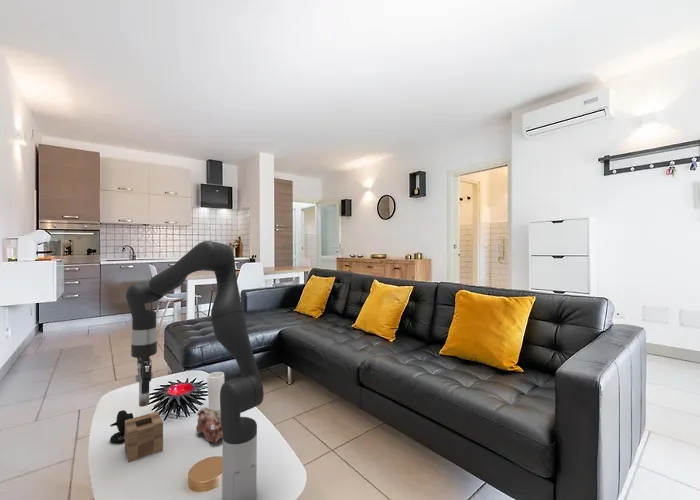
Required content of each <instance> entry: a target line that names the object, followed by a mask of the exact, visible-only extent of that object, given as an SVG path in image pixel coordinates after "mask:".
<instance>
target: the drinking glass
mask: <svg viewBox="0 0 700 500" xmlns="http://www.w3.org/2000/svg"><path fill="white" fill-rule="evenodd" d="M206 379H207V380H206V381H207V382H206V384H207V385H206V387H207V396H208V398H207V399H208V408H209V409H212V410H217V411H219V412H220V411H221V410H220V390H221V387H222V385H223V383H225V373H224V372H222V371H214V372H210V373H209V374H207V378H206Z"/></svg>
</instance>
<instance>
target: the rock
mask: <svg viewBox="0 0 700 500" xmlns="http://www.w3.org/2000/svg"><path fill="white" fill-rule="evenodd" d="M197 416H198V418H197V425H196V426H195V427H196V428H195V429H196V433H203V436H204V438H205V440H206V441H207V442H211V443H217V442H218V441H219V440H220V439H221V438H223V433H222V427H221V411H220V410H219V411H217V410H212V409H209V407H202V408H200V409H199V410H198V412H197Z"/></svg>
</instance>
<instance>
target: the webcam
mask: <svg viewBox="0 0 700 500" xmlns="http://www.w3.org/2000/svg"><path fill="white" fill-rule="evenodd" d="M132 418H134V414H133V412H132V413H131V412H130V413H129V412H128V413H127V411H126V410H119V411H118V412H117V414H116V420H115V422H113V423H110V427H115V426H116V429H117V430H118V432H116V433H113V435H111V436H110V438H109V441H110V443H111V444H113V445H119V444H120V445H121V444H125V420H128V419H132ZM122 437H123V438H122Z"/></svg>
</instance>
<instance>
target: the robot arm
mask: <svg viewBox="0 0 700 500" xmlns="http://www.w3.org/2000/svg"><path fill="white" fill-rule="evenodd" d="M202 270H203V271H209V272H214V276H215V279H216V285H217V288H216V289H217V290H216V294H215V298H214V300H213V303H212V306H211V311H210V313H211V314H210V318H211V323H212V328H213V333H214V337H215V338H216V340H217V341H218V343H220V345H222V347H223V348H225V349H226V351H228V353H229V354H230V355H231V356H232V357H233V359H234V360H235V362H236V364H237V365H238V368H239V371H240V375H241V376H239V377H236V378H232V379H229V380H227V381H224V383H223V385H222V387H221V390H220V410H219V411H220V412H221V427H222V433H223V437H222V456H221V457H222V459H221V460H222V461H221V462H222V463H221V465H222V466H221V468H222V469H221V470H222V471H221V474H222V475H221V500H257V482H258V481H257V477H258V476H257V474H258V473H257V472H258V471H257V470H258V469H257V468H258V467H257V464H258V462H257V459H258V457H257V456H258V447H257V446H258V424H257V421H256V420H255V419H253V418H251V417H249V416H241V414H242V413H244V412H246V411H249V410H251V409H254V408H255V407H258V406H260V405H261V404H262V403H263V401H264V396H265V393H264V385H263V382H262V377H261V374H260V372H259V368H258V365H257V362H256V360H255V356H254V353H253V350H252V345H251V342H250V337H249V332H248V326H247V322H246V318H245V313H244V312H245V311H244V309H243V305H242V301H241V295H240V291H239V284H238V278H237V271H236V263H235V256H234V252H233V250H232V248H231V247H230V246H229V245H228V244H225V243H223V242H222V243H221V242H218V241H212V240H204V241H201V242H199V243H198V244H197V245H195V246H194V247H192V248H191V249H190V250H189V251H188V252H187V253H185V254H184V255H183V256H181V258H179V259H178V260H177V261H176V262H175V263H173V264H172V265H171V266H169V267H167V268H165V269H164V270H162V271H160V272H159V273H157V274H155V275H154V276H152V277H151V278H150V279H149V282H142V283H135V284H131V285H130V286H129V287H128V288H127V291H126V294H125V298H126V302H127V304H128V307H129V312H130V314H131V320H132V321H131V328H132V329H131V334H130V335H131V336H130V337H131V338H130V339H131V341H130V345H131V346H130V353H131V355H130V356H131V358H136V367H137V368H136V369H137V375H138V374H139V376H141V393H142V394H146V393H149V394H150V383H151V381H152V379H151V373H152V368H153V367H152V364H153V363H152V362H153V361H152V359H151V356H154V355H156V354H157V352H158V330H157V313H156V311H155V310H153V309H147V308H146V306H145V304H149V303H155V302H158V301H160V300H161V299H162V298H164V297H165V296H166V295H167V294H168V293H170V292H172V291H173V290H176V289H177V288H179V287H180V286H182V285H183V284H184V283H185V281H186V279H187V277H188V276H189V275H191V274H193V273H195V272H200V271H202ZM146 376H148V378H147V379H144V377H146Z"/></svg>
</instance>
